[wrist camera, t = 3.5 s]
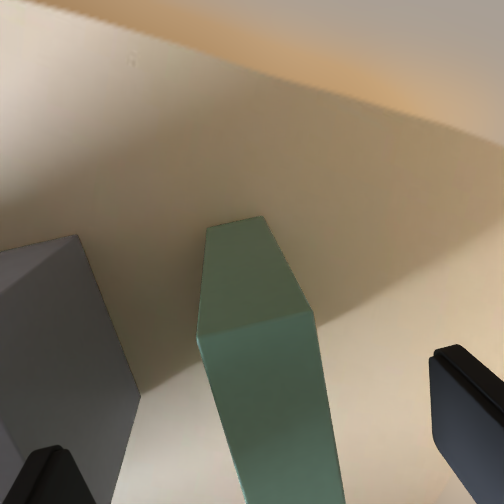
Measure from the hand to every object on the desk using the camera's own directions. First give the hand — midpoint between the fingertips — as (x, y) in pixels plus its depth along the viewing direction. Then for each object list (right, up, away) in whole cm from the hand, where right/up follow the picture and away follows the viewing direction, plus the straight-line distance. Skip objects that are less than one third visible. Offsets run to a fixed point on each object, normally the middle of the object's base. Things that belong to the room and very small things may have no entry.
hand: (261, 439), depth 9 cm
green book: (0, +3, +8) cm, 9 cm away
